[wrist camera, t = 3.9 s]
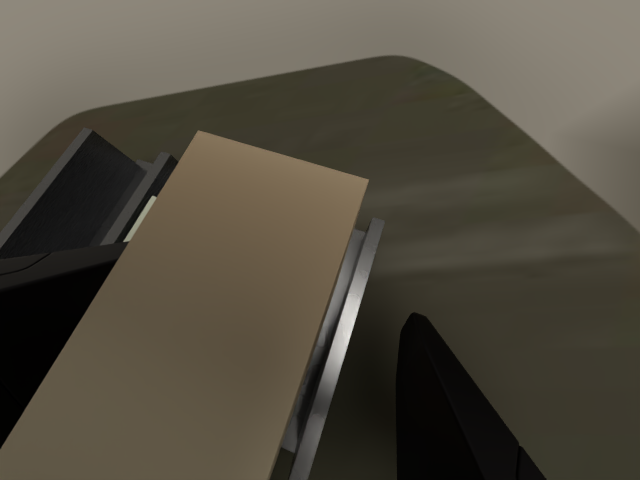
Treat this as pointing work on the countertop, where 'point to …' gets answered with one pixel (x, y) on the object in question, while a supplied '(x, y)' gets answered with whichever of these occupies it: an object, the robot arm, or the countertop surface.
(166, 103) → the countertop surface
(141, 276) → the light wooden block
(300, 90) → the countertop surface
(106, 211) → the rack
